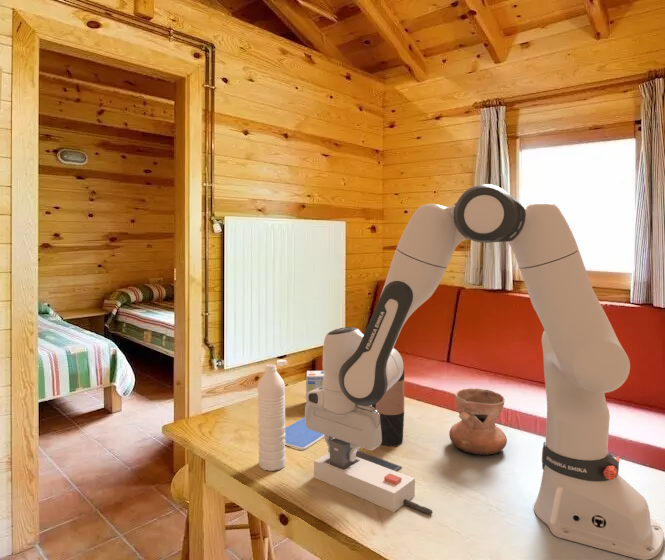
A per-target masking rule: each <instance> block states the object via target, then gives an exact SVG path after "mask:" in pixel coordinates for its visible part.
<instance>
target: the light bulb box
mask: <svg viewBox="0 0 665 560" xmlns="http://www.w3.org/2000/svg"><path fill="white" fill-rule="evenodd" d="M305 375H306V377H305V378H306V379H305V381H306V382H305V383H306V384H305V385H306V386H305V388H306V391H305V392H306V393H307V392H309V391H312V390H314V389H317V388H320V387H323V380H324V371H323V370H306V374H305ZM306 393H305V394H306ZM307 402H308V401H307V400H306V403H307Z"/></svg>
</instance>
